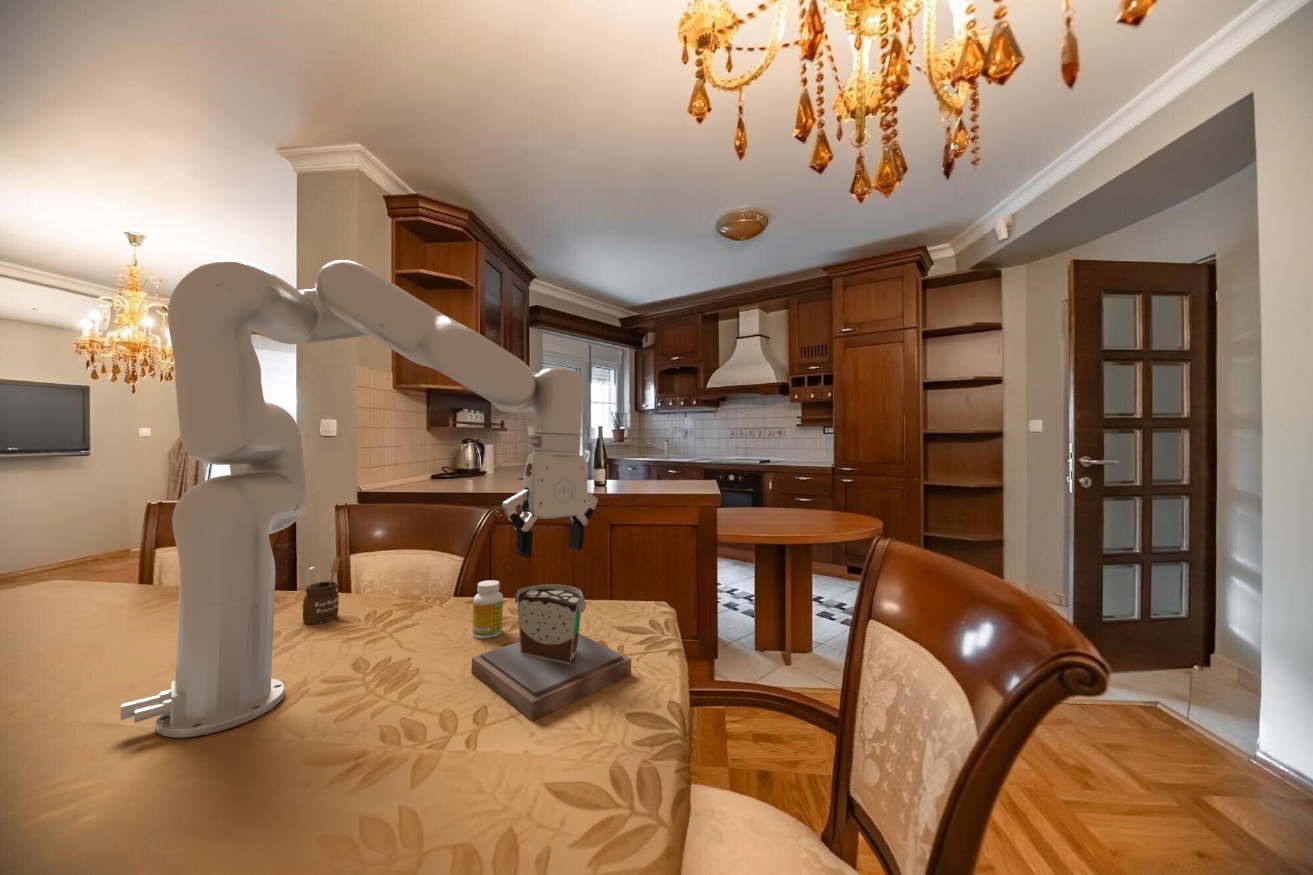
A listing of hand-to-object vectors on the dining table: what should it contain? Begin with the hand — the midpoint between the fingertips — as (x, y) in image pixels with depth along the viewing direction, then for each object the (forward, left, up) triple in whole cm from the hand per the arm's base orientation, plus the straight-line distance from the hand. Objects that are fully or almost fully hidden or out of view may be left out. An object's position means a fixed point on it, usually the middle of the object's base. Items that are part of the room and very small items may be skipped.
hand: (550, 552), depth 73 cm
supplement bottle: (0, +22, -20) cm, 29 cm away
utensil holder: (-21, +52, -20) cm, 59 cm away
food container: (+2, 0, -17) cm, 17 cm away
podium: (0, 0, -19) cm, 19 cm away
